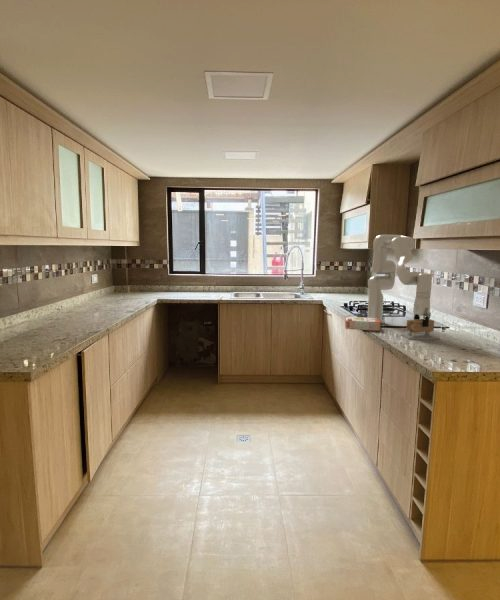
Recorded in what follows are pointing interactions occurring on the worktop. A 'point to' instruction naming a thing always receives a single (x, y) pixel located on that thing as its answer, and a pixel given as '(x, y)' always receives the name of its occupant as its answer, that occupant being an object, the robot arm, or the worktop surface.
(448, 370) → the worktop surface
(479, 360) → the worktop surface
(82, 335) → the worktop surface
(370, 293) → the robot arm
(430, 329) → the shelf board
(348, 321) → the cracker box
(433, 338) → the peg stand
